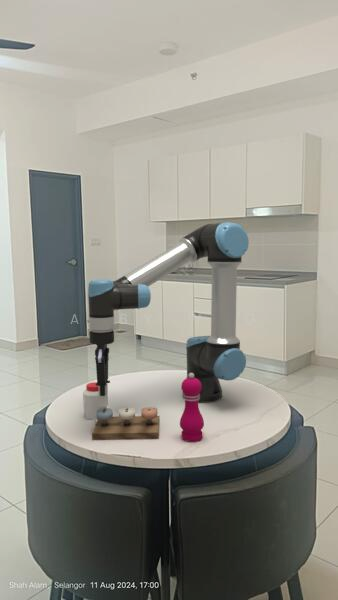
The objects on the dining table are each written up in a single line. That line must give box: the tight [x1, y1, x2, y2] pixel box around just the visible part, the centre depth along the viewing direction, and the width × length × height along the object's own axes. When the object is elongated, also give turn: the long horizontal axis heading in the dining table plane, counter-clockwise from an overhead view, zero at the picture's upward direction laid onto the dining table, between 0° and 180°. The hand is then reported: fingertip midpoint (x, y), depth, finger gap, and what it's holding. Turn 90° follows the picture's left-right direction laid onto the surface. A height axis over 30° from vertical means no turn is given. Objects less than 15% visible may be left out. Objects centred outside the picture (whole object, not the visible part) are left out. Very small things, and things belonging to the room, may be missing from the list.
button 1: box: [140, 406, 158, 424], centre depth 152 cm, size 5×5×4 cm
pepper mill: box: [179, 373, 205, 443], centre depth 145 cm, size 7×7×20 cm
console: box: [91, 415, 160, 441], centre depth 152 cm, size 20×14×2 cm
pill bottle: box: [82, 381, 108, 421], centre depth 165 cm, size 8×8×11 cm
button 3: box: [96, 407, 114, 425], centre depth 152 cm, size 5×5×4 cm
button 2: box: [118, 407, 136, 424], centre depth 152 cm, size 5×5×4 cm
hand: (103, 404), depth 151 cm, fingers closed
